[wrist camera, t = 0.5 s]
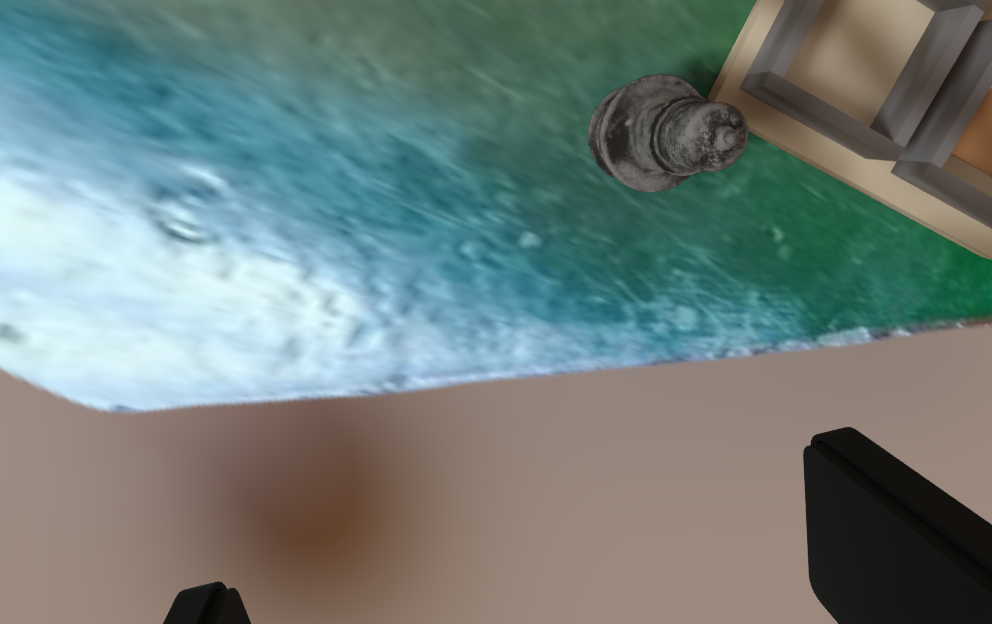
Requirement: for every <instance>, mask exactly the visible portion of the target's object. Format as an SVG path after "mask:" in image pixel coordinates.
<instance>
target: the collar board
mask: <svg viewBox="0 0 992 624" xmlns="http://www.w3.org/2000/svg"><path fill="white" fill-rule="evenodd" d="M707 99H708V100H710V101H711V102H724V103H728V104H730V105H732V106H734V107H736V108H738V109H739V110H740V111H741V112H742V113H743V115H744V117H745V119H746V121H747V125H748V131H749V132H750V133H752V134H754V135H756V136H758V137H760V138H762V139H763V140H765V141H767V142H769V143H771V144H773V145H775V146H776V147H778V148H780V149H782V150H784V151H786V152H788V153H789V154H791V155H793V156H795V157H797V158H799V159H801V160H802V161H804V162H806V163H808V164H810V165H812V166H814V167H815V168H817V169H819V170H821V171H823V172H825V173H827V174H828V175H830V176H832V177H834V178H836V179H838V180H840V181H841V182H843V183H845V184H847V185H849V186H851V187H853V188H854V189H856V190H858V191H860V192H862V193H864V194H866V195H867V196H869V197H871V198H873V199H875V200H877V201H879V202H880V203H882V204H884V205H886V206H888V207H890V208H892V209H893V210H895V211H897V212H899V213H901V214H903V215H905V216H906V217H908V218H910V219H912V220H914V221H916V222H918V223H919V224H921V225H923V226H925V227H927V228H929V229H931V230H932V231H934V232H936V233H938V234H940V235H942V236H944V237H945V238H947V239H949V240H951V241H953V242H955V243H957V244H958V245H960V246H962V247H964V248H966V249H968V250H970V251H971V252H973V253H975V254H977V255H979V256H981V257H984V258H988V259H992V0H757V1H756V2H755V4H754V6H753V8H752V10H751V12H750V14H749V16H748V18H747V20H746V22H745V24H744V26H743V28H742V30H741V32H740V34H739V36H738V38H737V40H736V42H735V44H734V46H733V48H732V50H731V52H730V54H729V56H728V58H727V59H726V61H725V63H724V65H723V67H722V69H721V71H720V73H719V75H718V77H717V79H716V81H715V83H714V85H713V87H712V89H711V91H710V93H709V95H708V97H707Z"/></svg>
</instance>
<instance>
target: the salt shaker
mask: <svg viewBox="0 0 992 624" xmlns="http://www.w3.org/2000/svg"><path fill="white" fill-rule="evenodd" d="M588 139H589V147H590V150H591V153H592V156H593V158H594V159H595V161H596V163H597V164H598V166H599V167H600V168H601V169H602V170H604V171H605V172H606V173H607V174H609V175H611V176H613V177H615V178H617V179H619V180H620V181H621V182H622V183H623V184H625V185H627V186H629V187H631V188H633V189H636V190H639V191H646V192H657V191H665V190H667V189H670V188H672V187H675V186H677V185H679V184H680V183H682V182H683V181H684V180H686V179H687V178H688V177H690V176H691V175H693V174H695V173H697V172H700V171H706V172H713V171H719V170H722V169H724V168H727V167H729V166H730V165H732V164H733V163H734V162H736V161H737V159H738V158H739V157H740V156H741V155H742V153H743V151H744V149H745V147H746V144H747V141H748V125H747V121H746V119H745V117H744V115H743V113H742V112H741V111H740V110H739V109H738V108H736V107H734V106H732V105H730V104H728V103H724V102H711V101H710V100H708V99H706V98H704V97H702V96H700V94H699V93H698V92H697V91H696V90H695V89H694V88H693V87H692V86H691V85H690V84H689V83H687V82H686V81H684V80H682V79H680V78H678V77H676V76H670V75H665V74H656V75H647V76H644V77H642V78H639V79H637V80H634V81H632V82H631V83H629V84H628V85H626V86H623V87H621V88H618V89H616V90H613V91H612V92H611V93H610V94H608V95H607V96H606V97H604V98H603V100H602V101H601V102H600V103H599V105H598V106H597V107H596V109H595V111H594V113H593V115H592V117H591V120H590V125H589V130H588Z"/></svg>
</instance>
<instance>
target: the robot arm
mask: <svg viewBox="0 0 992 624" xmlns="http://www.w3.org/2000/svg"><path fill="white" fill-rule="evenodd" d="M803 459H804V481H805V502H806V521H807V522H806V523H807V544H808V565H809V579H810V583H811V586H812V589H813V591H814V593H815V595H816V597H817V598H818V600H819V601H820V602H821V604H822V605H823V606H824V607H825V608H826V609H827V611H828V612H829V613H830V614H831V615H832V617H833V618H834V619H835V620H836V621H837V622H838V624H992V525H991V524H990V523H989V522H987V521H985V520H984V519H983V518H981V517H980V516H978V515H977V514H976V513H974V512H973V511H971V510H970V509H969V508H967V507H966V506H964V505H963V504H961V503H960V502H958V501H957V500H956V499H954V498H953V497H951V496H950V495H948V494H947V493H946V492H944V491H943V490H941V489H940V488H939V487H937V486H936V485H934V484H933V483H931V482H930V481H929V480H927V479H926V478H924V477H923V476H921V475H920V474H919V473H917V472H916V471H914V470H913V469H911V468H910V467H909V466H907V465H906V464H904V463H903V462H901V461H900V460H899V459H897V458H896V457H894V456H893V455H891V454H890V453H889V452H887V451H886V450H884V449H883V448H881V447H880V446H879V445H877V444H876V443H874V442H873V441H871V440H870V439H869V438H867V437H866V436H864V435H863V434H861V433H860V432H859V431H857V430H856V429H853V428H851V427H845V428H841V429H837V430H832V431H829V432H825V433H820V434H816V435H815V436H813V438H812V440H811V445H810V446H807V447H806V448H805V449H804V454H803ZM163 624H251V622H250V620H249V617H248V615H247V612H246V610H245V607H244V605H243V602H242V600H241V597H240V595H239V593H238V591H237V590H236V589H235V588H230V589H227V588H226V586H225V585H224V584H223V583H222V582H214V583H210V584H206V585H201V586H197V587H194V588H189V589H185V590H183V591H181V592H179V594H178V595H177V597H176V598H175V600H174V602H173V605H172V607H171V609H170V611H169V613H168V615H167V617H166V619H165V621H164V623H163Z"/></svg>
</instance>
